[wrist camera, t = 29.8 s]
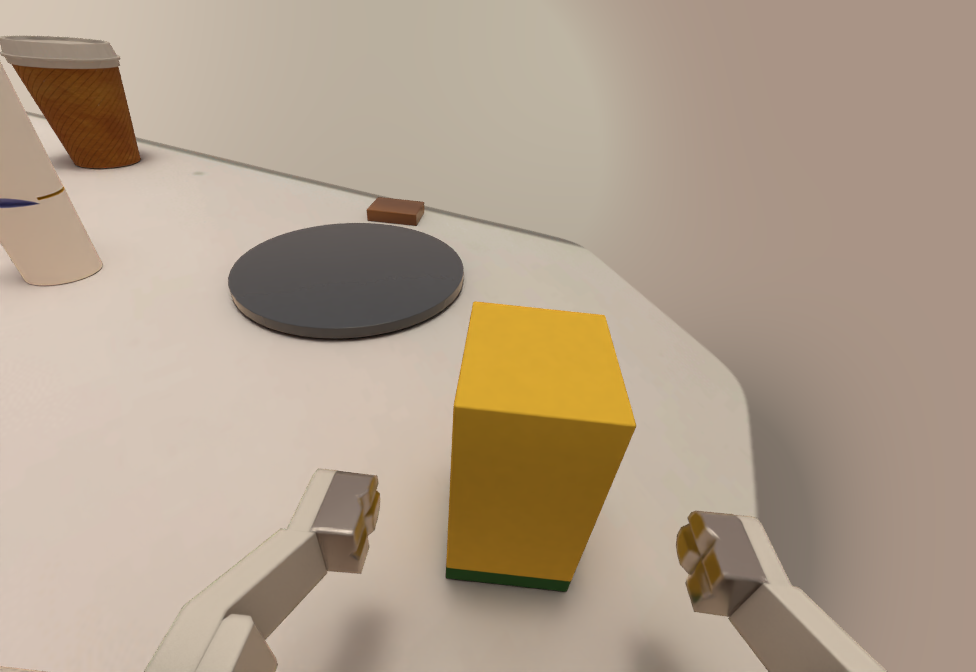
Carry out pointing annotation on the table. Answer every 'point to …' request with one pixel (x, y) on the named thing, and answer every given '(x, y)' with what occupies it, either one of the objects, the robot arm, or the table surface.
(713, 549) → the robot arm
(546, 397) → the sponge
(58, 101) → the disposable coffee cup
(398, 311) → the plate
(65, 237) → the tube
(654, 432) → the table surface
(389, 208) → the brown rectangular block
